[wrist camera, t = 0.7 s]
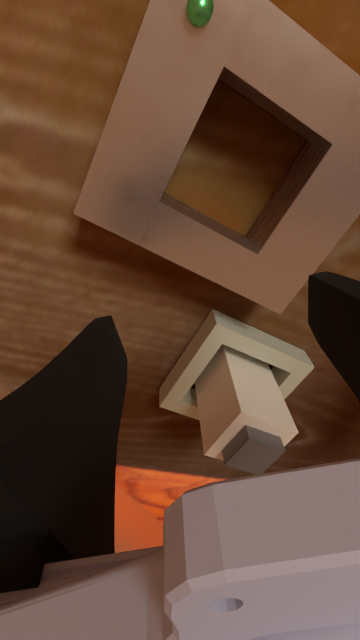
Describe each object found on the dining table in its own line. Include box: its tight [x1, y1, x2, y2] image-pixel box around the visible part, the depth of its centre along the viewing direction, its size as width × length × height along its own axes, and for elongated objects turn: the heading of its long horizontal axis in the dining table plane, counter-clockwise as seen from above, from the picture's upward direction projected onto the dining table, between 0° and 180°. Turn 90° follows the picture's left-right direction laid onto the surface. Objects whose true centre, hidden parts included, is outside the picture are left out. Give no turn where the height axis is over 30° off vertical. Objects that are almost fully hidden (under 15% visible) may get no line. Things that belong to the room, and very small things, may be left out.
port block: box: [73, 0, 360, 314], centre depth 17 cm, size 13×11×3 cm
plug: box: [195, 344, 299, 475], centre depth 22 cm, size 4×4×8 cm
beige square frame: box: [159, 309, 314, 420], centre depth 25 cm, size 8×8×2 cm
